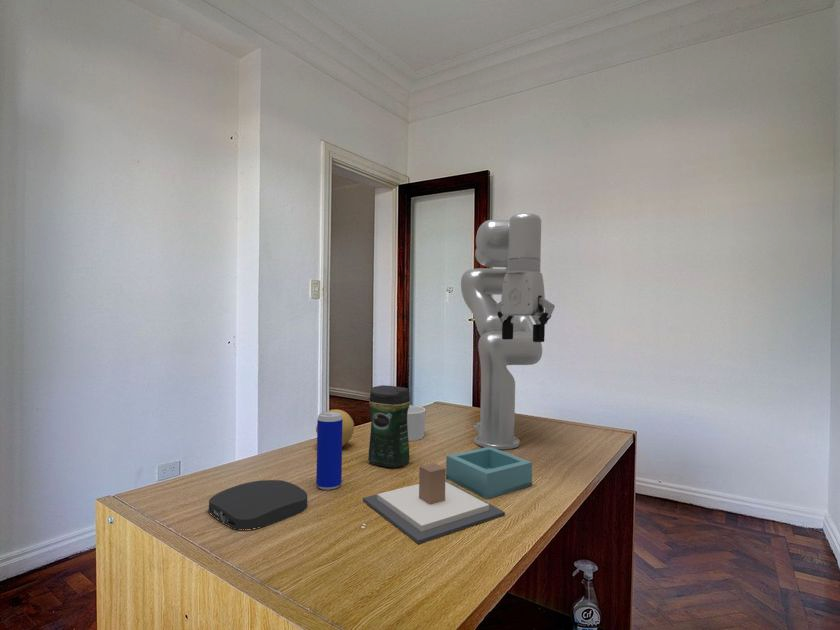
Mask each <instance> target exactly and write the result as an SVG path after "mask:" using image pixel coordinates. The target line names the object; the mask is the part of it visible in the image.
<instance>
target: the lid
mask: <svg viewBox="0 0 840 630" xmlns="http://www.w3.org/2000/svg"><path fill="white" fill-rule="evenodd" d="M418 469H419V473H418V474H419V475H418V482H419V483H418V484H412V485H409V486H403V487H400V488H397V489H392V490H388V491H385V492H380V493H376V495H377V500H379V501H380V502H382V503H383V504H384V505H386V506H387V507H388V508H390V509H391V510H393V511H394V512H395V513H397V514H398V515H399V516H401V517H402V518H404V519H405V520H406V521H408V522H409V523H410V524H412V525H413V526H414V527H416V528H417V529H419V530H420V531H421V532H422V531H425V530H429V529H432V528H435V527H438V526H441V525H444V524H447V523H451V522H454V521H457V520H460V519H463V518H466V517H469V516H473V515H476V514H479V513H482V512H485V511H488V510H489V504H490V503H489V504H487V503H488V502H487V503H485V502H486V501H485V502H483V501H484V500H483V501H481V500H482V499H481V500H479V499H480V498H479V499H477V498H478V497H477V498H475V497H476V496H475V495H474V496H475V497H474V496H472V495H473V494H472V495H470V494H471V493H470V494H468V493H469V492H468V493H466V492H467V491H466V492H464V491H465V490H464V491H462V490H463V489H462V490H460V489H461V488H460V489H458V488H459V487H458V488H456V487H457V486H456V485H454V484H453V485H454V486H453V485H451V484H452V483H451V484H449V483H450V482H449V483H447V482H448V481H447V482H445V481H446V467H443V466H441V465H440V464H437V463H436V462H433V463H428V464H424V465H419V468H418ZM455 486H456V487H455Z"/></svg>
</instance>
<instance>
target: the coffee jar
mask: <svg viewBox="0 0 840 630" xmlns="http://www.w3.org/2000/svg"><path fill="white" fill-rule="evenodd" d="M368 403H369V407H370V413H371V414H370V415H371V416H370V417H371V419H370V433H369V434H370V436H369V443H368V444H369V446H368V461H369V463H370V464H373V465H377V466H380V467H381V466H382V467H386V468H397V467H403V466H405V465H406V464H408V463H409V462H410V443H409V442H410V441H408V427H407V413H408V408H409V406H410V405H411V397H410V391H409V388H407V387H403V386H402V387H401V386H395V385H384V384H383V385H377V386H373V387H372V388H371V390H370V394H369V401H368Z"/></svg>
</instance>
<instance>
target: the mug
mask: <svg viewBox="0 0 840 630" xmlns="http://www.w3.org/2000/svg"><path fill="white" fill-rule="evenodd" d="M426 415H427V414H426V408H425V407H422V406H419V405H411V404H410V406H409V408H408V413H407V427H408V441H409V442H414V441H413V440H416V441H420V440H422V439H424V438H423V437H425V430H426V428H425V427H426ZM419 439H420V440H419Z"/></svg>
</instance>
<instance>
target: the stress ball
mask: <svg viewBox="0 0 840 630" xmlns="http://www.w3.org/2000/svg"><path fill="white" fill-rule="evenodd" d="M327 412H339V413H341V415H342V418H343V425H342V447H343V446H344V445H346V444H347V443H349V441H350V440H351V439H352V437H353V435H354V431H355V430H354V429H355V422H354V420H353V418H352V416H351V415H349V413H347V412H346V411H344V410H341V409H330V410H327ZM315 432H316V433H317V426H316V428H315Z"/></svg>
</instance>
